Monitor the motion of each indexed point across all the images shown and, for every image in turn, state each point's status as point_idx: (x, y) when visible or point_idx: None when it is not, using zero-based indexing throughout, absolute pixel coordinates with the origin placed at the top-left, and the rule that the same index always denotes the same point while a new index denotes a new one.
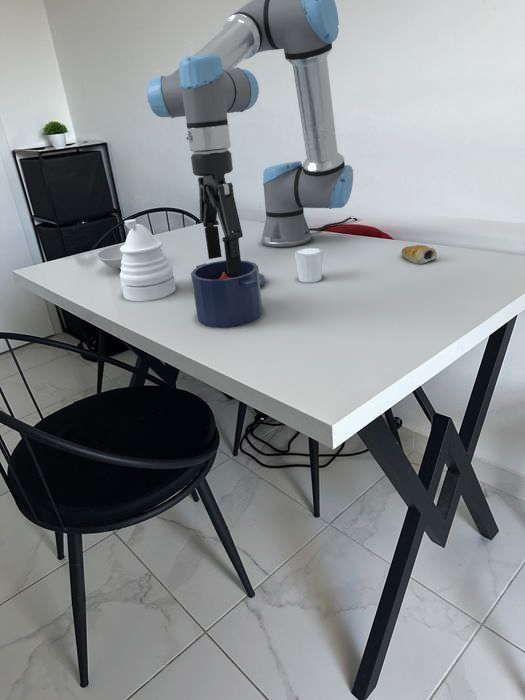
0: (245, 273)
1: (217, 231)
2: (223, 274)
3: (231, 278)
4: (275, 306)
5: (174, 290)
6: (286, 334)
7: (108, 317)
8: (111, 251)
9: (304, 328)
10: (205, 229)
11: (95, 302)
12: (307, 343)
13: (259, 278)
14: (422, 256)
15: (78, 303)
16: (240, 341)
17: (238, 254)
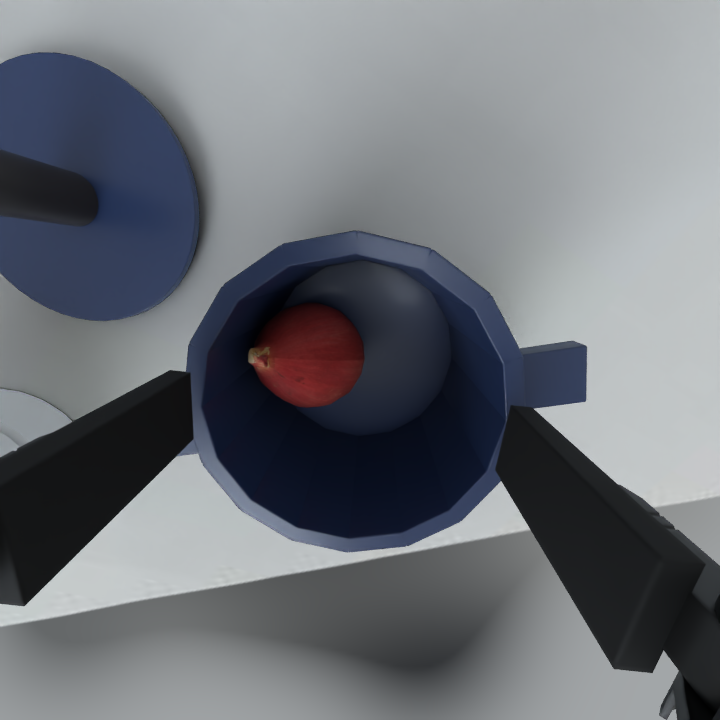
0: (302, 268)
1: (51, 468)
2: (266, 365)
3: None
4: (393, 191)
5: (48, 405)
6: (613, 286)
7: (175, 592)
8: None
9: (624, 215)
10: (26, 597)
11: (44, 590)
12: (712, 270)
13: (104, 95)
14: None
15: (31, 619)
16: (549, 409)
17: (636, 498)
